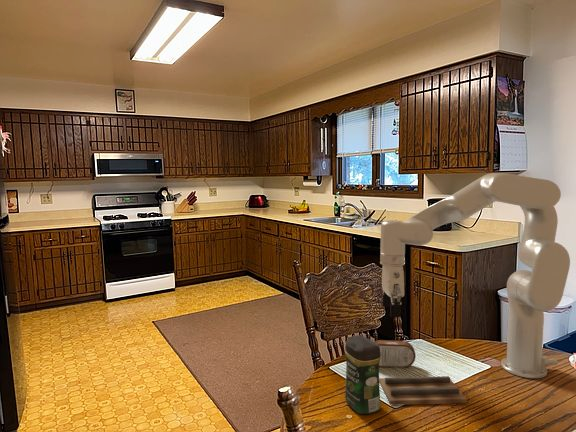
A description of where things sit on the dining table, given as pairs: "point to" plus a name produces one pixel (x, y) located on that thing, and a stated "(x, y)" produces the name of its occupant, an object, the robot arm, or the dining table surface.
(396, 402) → the holder
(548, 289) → the robot arm
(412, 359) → the tin
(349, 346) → the coffee jar
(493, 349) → the dining table surface
